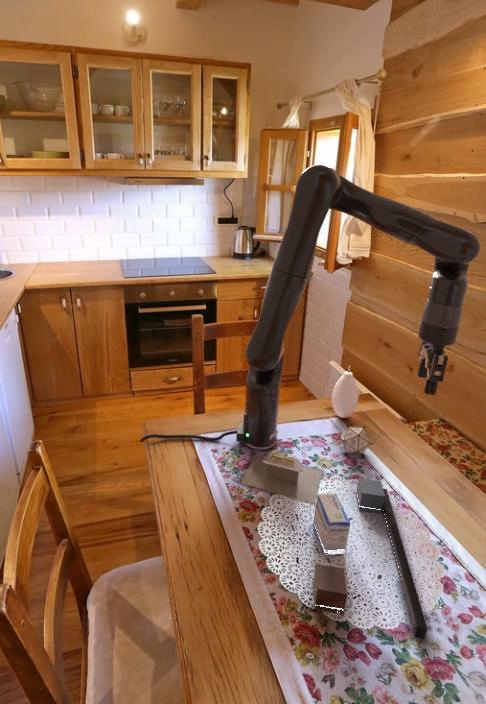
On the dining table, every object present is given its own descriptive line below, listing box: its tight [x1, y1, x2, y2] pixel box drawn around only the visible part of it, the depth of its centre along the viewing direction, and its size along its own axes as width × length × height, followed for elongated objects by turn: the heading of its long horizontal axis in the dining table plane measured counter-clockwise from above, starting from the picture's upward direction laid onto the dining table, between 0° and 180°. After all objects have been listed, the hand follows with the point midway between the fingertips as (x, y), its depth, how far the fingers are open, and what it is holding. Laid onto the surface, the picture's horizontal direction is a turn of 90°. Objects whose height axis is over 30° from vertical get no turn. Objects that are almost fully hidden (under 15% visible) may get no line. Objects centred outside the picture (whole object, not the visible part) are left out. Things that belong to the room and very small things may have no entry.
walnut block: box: [312, 563, 348, 616], centre depth 72 cm, size 5×5×5 cm
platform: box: [241, 450, 323, 505], centre depth 101 cm, size 12×18×7 cm, turn 69°
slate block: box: [355, 477, 385, 515], centre depth 94 cm, size 5×5×5 cm
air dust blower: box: [331, 365, 359, 419], centre depth 126 cm, size 8×8×18 cm
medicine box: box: [312, 493, 351, 556], centre depth 84 cm, size 8×4×9 cm, turn 5°
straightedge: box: [382, 488, 428, 639], centre depth 82 cm, size 2×32×2 cm, turn 170°
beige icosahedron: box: [337, 423, 374, 457], centre depth 111 cm, size 9×8×10 cm
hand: (425, 385), depth 95 cm, fingers open, 8 cm apart
